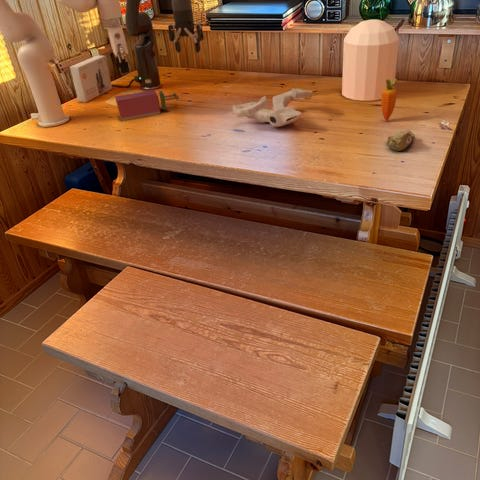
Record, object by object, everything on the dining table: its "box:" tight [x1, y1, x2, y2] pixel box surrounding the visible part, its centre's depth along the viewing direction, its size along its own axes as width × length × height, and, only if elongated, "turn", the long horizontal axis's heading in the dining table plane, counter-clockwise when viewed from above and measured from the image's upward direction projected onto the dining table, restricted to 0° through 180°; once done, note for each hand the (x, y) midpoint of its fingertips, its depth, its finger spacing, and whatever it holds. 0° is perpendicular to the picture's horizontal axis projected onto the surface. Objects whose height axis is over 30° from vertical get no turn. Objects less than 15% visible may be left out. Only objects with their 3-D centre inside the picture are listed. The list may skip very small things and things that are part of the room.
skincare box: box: [69, 54, 113, 103], centre depth 218 cm, size 21×6×16 cm, turn 158°
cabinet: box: [114, 89, 161, 122], centre depth 191 cm, size 16×6×8 cm, turn 109°
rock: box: [387, 129, 416, 152], centre depth 146 cm, size 11×6×10 cm
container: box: [341, 18, 400, 102], centre depth 185 cm, size 21×21×28 cm
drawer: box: [157, 90, 180, 111], centre depth 193 cm, size 21×5×7 cm, turn 109°
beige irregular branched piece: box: [231, 88, 314, 128], centre depth 171 cm, size 28×26×12 cm
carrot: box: [380, 78, 398, 122], centre depth 161 cm, size 5×5×15 cm
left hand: (123, 70), depth 182 cm, fingers open, 9 cm apart
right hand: (188, 52), depth 187 cm, fingers open, 8 cm apart
